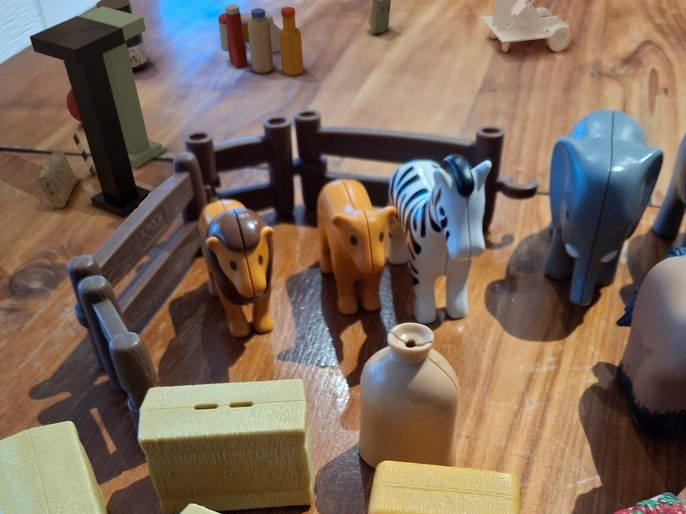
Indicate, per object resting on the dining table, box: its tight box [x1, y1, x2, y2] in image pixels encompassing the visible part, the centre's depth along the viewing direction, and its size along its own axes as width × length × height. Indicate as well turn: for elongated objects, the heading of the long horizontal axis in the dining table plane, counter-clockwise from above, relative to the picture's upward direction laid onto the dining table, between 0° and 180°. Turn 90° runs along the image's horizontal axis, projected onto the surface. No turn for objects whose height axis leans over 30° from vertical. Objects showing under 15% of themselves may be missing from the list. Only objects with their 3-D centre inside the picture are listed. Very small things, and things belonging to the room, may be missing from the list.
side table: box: [79, 6, 164, 169], centre depth 123 cm, size 9×9×22 cm
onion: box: [66, 88, 82, 123], centre depth 136 cm, size 6×6×8 cm
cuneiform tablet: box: [37, 133, 96, 210], centre depth 121 cm, size 7×4×12 cm
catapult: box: [479, 0, 572, 53], centre depth 156 cm, size 18×14×16 cm
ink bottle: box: [95, 0, 149, 73], centre depth 152 cm, size 10×9×12 cm
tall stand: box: [29, 15, 152, 219], centre depth 111 cm, size 9×9×26 cm
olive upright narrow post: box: [367, 0, 392, 37], centre depth 164 cm, size 6×5×8 cm
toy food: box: [217, 4, 304, 77], centre depth 154 cm, size 27×13×12 cm, turn 26°
